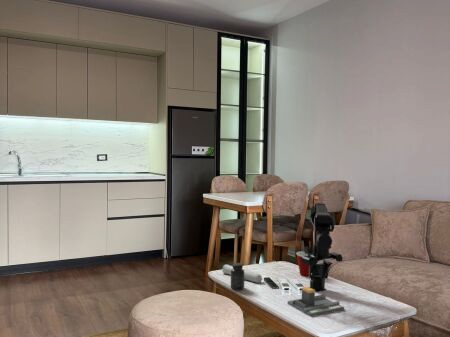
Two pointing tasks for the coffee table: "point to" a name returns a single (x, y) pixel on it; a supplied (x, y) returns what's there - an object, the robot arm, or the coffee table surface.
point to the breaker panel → (317, 306)
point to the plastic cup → (303, 267)
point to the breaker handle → (308, 296)
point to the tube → (247, 274)
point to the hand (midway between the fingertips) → (321, 278)
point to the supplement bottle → (237, 277)
